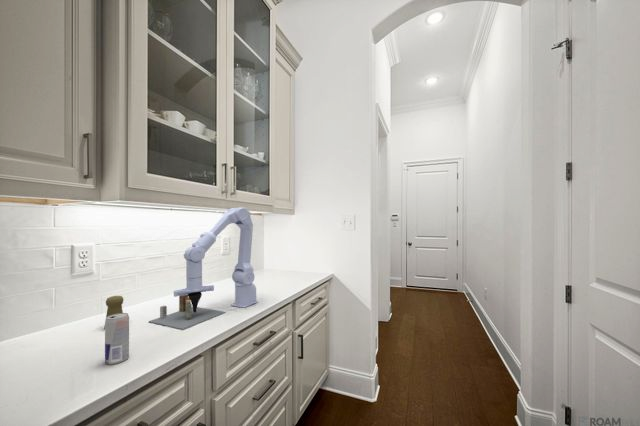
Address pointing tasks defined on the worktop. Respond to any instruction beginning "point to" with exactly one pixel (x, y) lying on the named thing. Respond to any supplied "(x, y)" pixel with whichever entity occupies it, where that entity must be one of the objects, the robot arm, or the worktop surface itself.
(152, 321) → the mat
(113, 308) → the cork
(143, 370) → the worktop surface
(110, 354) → the energy drink
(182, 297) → the hinge post
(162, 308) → the post
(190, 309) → the gate
